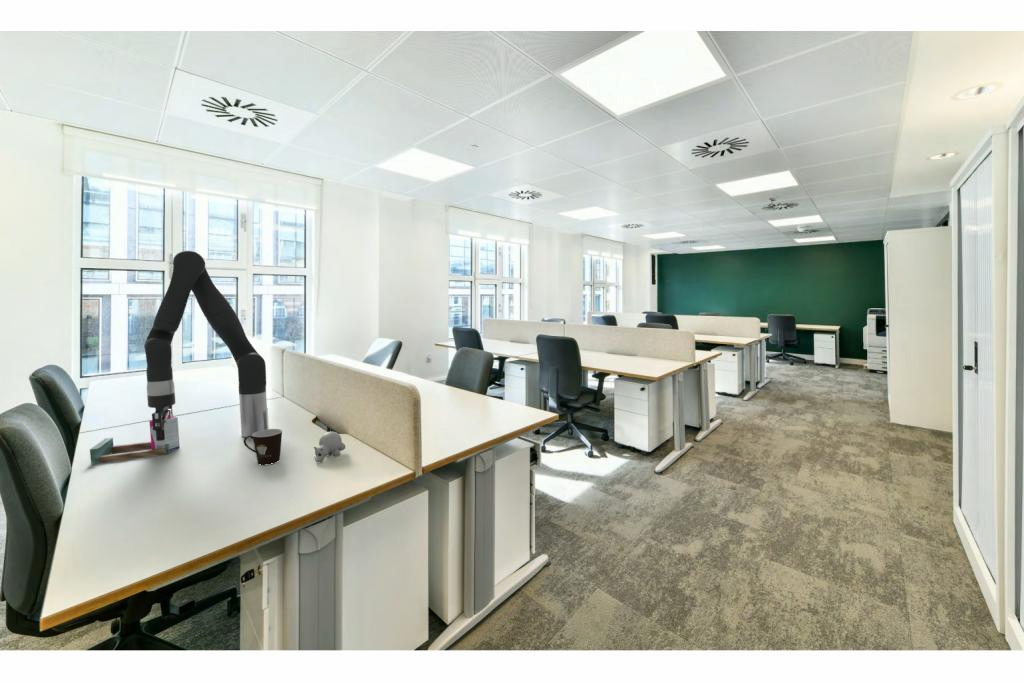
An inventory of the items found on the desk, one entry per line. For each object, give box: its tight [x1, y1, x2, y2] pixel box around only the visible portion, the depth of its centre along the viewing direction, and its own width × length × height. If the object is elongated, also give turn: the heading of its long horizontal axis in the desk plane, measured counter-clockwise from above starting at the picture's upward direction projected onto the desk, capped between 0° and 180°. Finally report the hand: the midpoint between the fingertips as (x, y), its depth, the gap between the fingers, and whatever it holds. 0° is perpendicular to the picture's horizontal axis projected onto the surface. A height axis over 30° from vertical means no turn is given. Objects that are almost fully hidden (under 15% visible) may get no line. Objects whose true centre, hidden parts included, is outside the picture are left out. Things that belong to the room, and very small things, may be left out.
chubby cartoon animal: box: [313, 431, 346, 463], centre depth 141 cm, size 7×12×8 cm, turn 162°
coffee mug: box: [243, 428, 283, 466], centre depth 138 cm, size 12×9×10 cm
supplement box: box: [149, 416, 181, 452], centre depth 148 cm, size 6×6×12 cm
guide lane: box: [89, 437, 171, 465], centre depth 144 cm, size 20×12×5 cm, turn 117°
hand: (164, 436), depth 148 cm, fingers closed on supplement box, 8 cm apart
